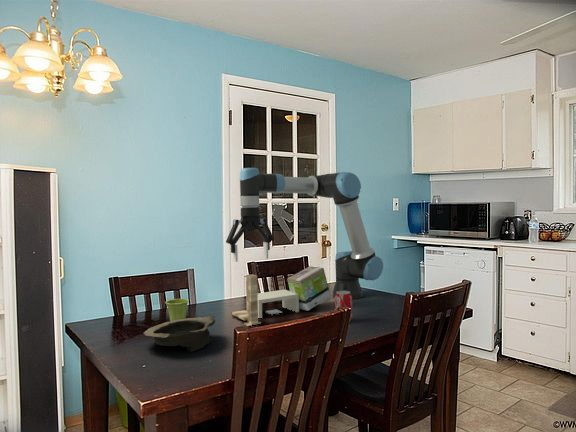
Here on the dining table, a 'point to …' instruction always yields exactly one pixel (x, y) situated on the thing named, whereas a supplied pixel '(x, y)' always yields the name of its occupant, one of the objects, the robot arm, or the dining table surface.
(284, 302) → the cream u-shaped bracket
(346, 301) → the soda can
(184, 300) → the plant pot
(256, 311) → the beech scraper
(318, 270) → the tea box
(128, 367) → the dining table surface
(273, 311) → the steel block
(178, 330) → the stone bowl
